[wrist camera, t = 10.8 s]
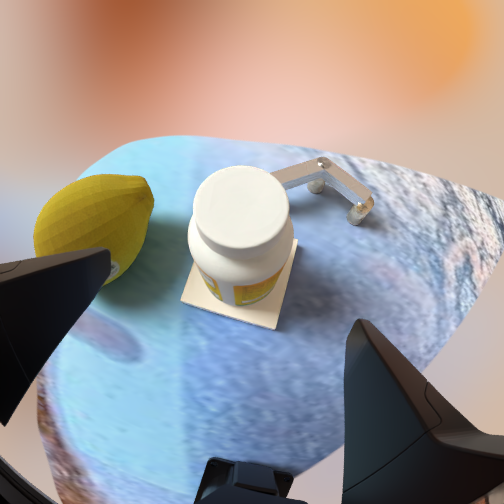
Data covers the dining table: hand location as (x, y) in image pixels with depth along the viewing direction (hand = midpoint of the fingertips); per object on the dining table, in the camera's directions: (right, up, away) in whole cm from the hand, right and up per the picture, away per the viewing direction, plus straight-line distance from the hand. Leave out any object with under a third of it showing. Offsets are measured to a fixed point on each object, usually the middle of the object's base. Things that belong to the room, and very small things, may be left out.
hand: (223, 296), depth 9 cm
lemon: (-11, +1, +13) cm, 17 cm away
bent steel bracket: (+6, +5, +14) cm, 17 cm away
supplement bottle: (0, 0, +11) cm, 11 cm away
